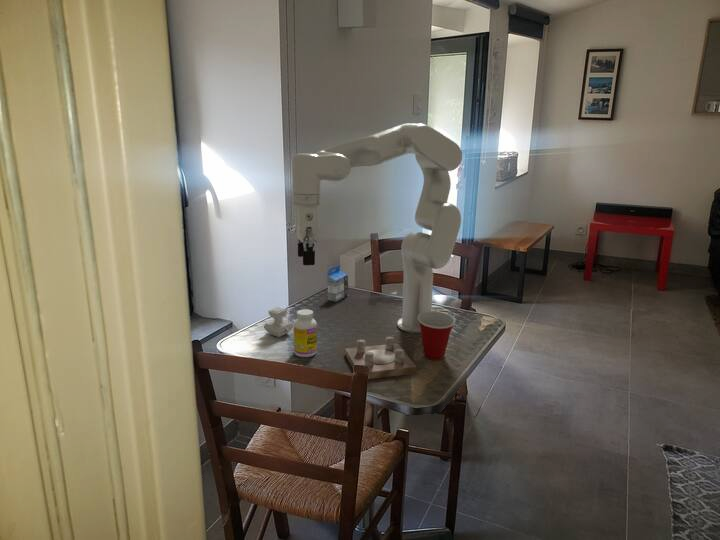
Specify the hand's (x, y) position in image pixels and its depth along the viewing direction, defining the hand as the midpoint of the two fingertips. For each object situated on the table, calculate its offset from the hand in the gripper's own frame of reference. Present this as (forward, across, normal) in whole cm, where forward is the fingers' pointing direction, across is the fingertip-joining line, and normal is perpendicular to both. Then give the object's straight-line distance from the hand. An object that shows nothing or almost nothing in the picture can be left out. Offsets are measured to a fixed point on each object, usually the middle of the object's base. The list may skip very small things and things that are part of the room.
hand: (306, 260), depth 151 cm
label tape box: (+27, +46, -20) cm, 57 cm away
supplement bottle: (+28, -1, 0) cm, 28 cm away
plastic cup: (+27, -11, -36) cm, 47 cm away
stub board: (+27, -12, -19) cm, 36 cm away
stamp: (+28, +15, +6) cm, 33 cm away
